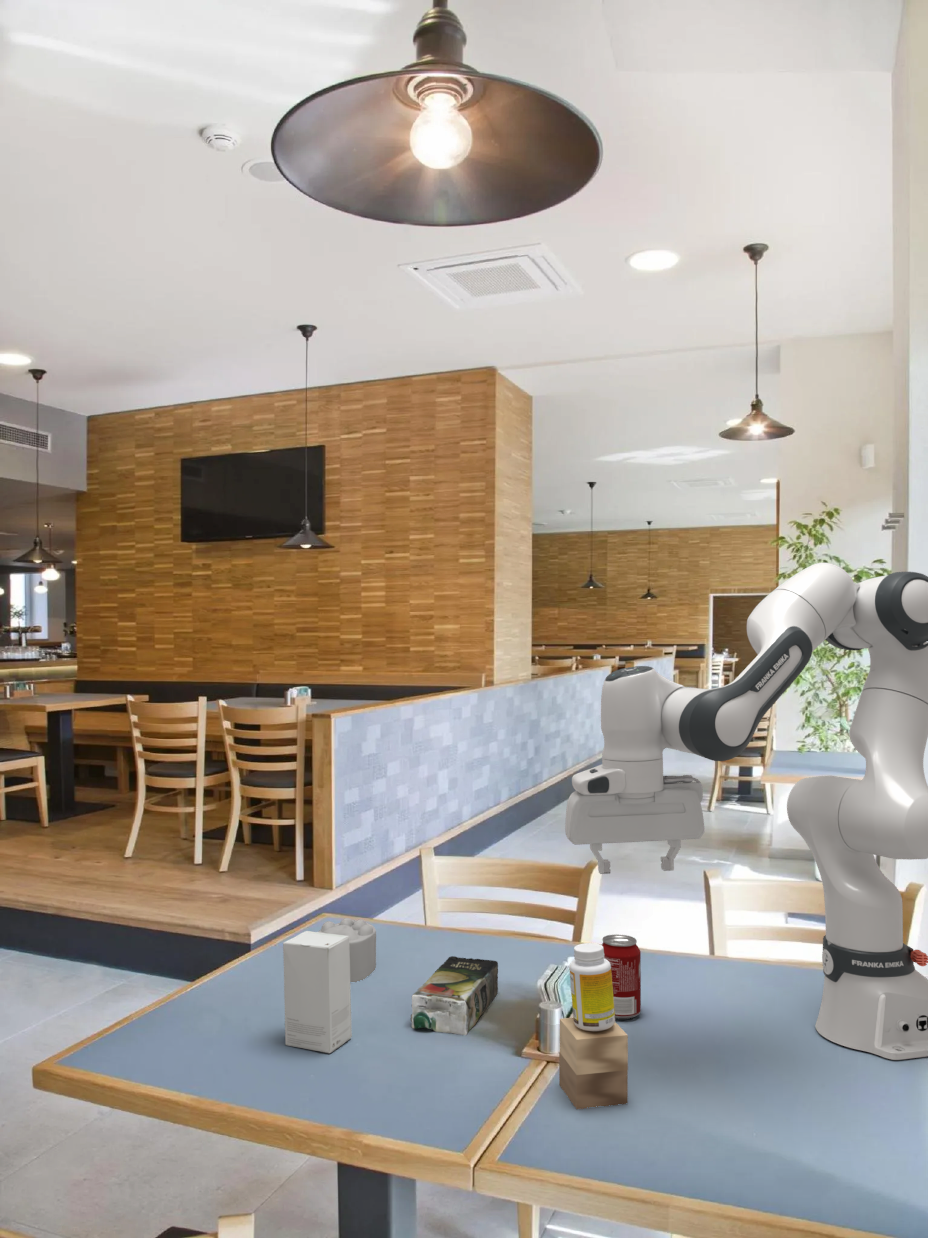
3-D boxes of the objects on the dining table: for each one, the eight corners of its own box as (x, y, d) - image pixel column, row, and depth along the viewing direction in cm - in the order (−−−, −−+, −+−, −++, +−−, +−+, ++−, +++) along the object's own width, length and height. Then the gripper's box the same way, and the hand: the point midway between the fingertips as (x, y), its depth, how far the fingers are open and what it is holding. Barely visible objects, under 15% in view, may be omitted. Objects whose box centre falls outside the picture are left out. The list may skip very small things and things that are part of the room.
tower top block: (608, 1048, 129) (608, 1015, 129) (627, 1070, 122) (627, 1035, 123) (559, 1052, 128) (559, 1019, 128) (576, 1075, 121) (576, 1039, 121)
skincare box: (352, 1039, 142) (353, 935, 143) (328, 1056, 136) (329, 948, 137) (306, 1030, 146) (307, 928, 146) (280, 1046, 140) (281, 940, 140)
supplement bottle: (624, 1024, 125) (618, 946, 125) (594, 1036, 121) (588, 956, 122) (594, 1013, 129) (588, 938, 130) (565, 1025, 126) (559, 948, 126)
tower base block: (607, 1081, 129) (607, 1047, 129) (627, 1105, 122) (627, 1069, 123) (559, 1086, 128) (559, 1052, 128) (576, 1110, 121) (576, 1075, 121)
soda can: (640, 1024, 149) (640, 947, 149) (597, 1020, 150) (597, 944, 151) (641, 1008, 155) (640, 934, 156) (599, 1005, 157) (599, 932, 157)
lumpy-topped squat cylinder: (306, 979, 169) (306, 930, 169) (335, 956, 181) (335, 911, 182) (360, 985, 166) (360, 935, 166) (385, 961, 178) (386, 915, 179)
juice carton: (467, 1040, 143) (467, 999, 143) (407, 1033, 146) (407, 992, 146) (500, 995, 162) (500, 959, 162) (446, 990, 165) (446, 954, 165)
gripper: (695, 771, 142) (698, 863, 142) (561, 777, 141) (564, 869, 140) (709, 777, 136) (712, 873, 136) (569, 783, 134) (572, 880, 134)
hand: (636, 871), depth 138 cm, fingers open, 8 cm apart
